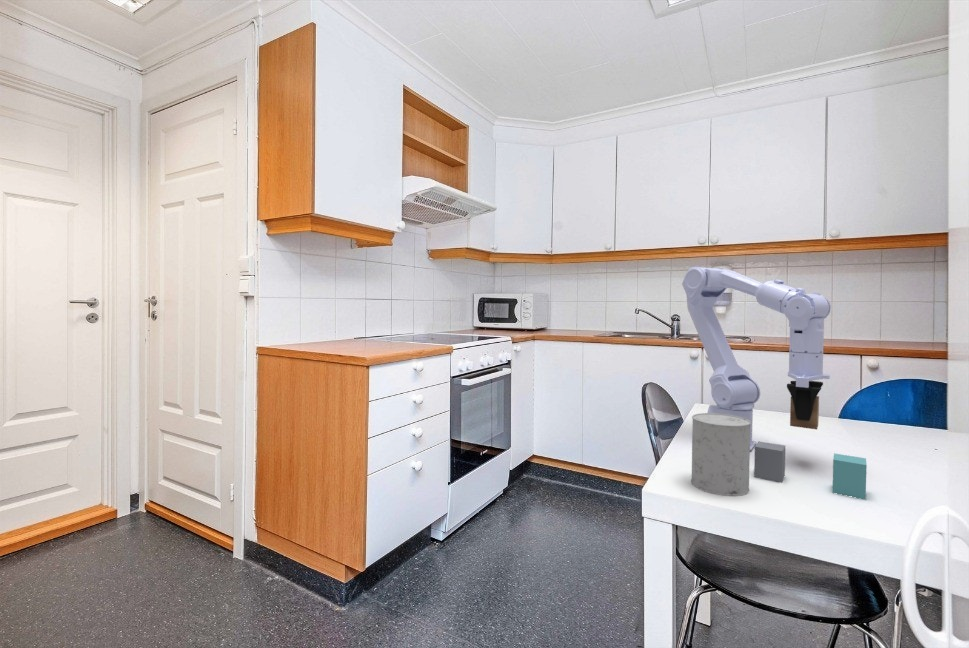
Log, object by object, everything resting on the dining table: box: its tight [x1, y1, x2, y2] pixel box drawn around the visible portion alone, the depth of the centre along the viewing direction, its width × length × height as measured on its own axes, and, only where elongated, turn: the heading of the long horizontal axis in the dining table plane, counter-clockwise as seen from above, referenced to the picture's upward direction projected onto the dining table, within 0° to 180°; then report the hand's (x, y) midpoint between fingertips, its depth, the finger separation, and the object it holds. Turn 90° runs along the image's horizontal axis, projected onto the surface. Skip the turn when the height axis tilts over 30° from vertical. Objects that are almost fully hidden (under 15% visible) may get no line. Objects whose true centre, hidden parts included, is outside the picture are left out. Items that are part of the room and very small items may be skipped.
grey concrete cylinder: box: [690, 412, 751, 497], centre depth 84 cm, size 10×10×12 cm
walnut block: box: [789, 395, 820, 430], centre depth 95 cm, size 4×4×6 cm
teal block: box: [831, 453, 868, 500], centre depth 81 cm, size 4×4×6 cm
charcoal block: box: [753, 441, 786, 484], centre depth 88 cm, size 4×4×6 cm
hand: (804, 417), depth 95 cm, fingers closed on walnut block, 4 cm apart
